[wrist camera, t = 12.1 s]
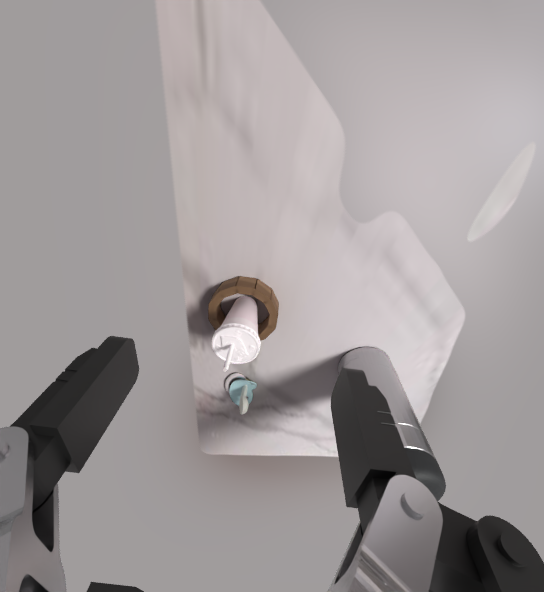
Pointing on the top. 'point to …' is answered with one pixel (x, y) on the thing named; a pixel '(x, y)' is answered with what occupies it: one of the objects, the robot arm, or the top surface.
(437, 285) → the top surface
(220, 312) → the brown polygonal ring
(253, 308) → the smoothie
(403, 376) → the top surface
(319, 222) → the top surface
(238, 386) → the pacifier
